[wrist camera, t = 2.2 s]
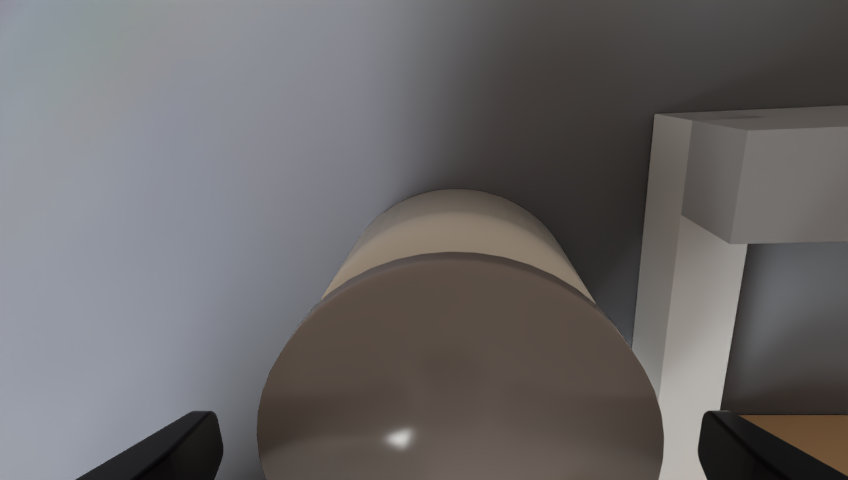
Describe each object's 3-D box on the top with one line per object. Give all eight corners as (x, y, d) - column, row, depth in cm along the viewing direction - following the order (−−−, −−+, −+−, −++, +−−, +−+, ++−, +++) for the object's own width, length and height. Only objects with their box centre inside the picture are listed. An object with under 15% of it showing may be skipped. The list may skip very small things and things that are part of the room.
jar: (349, 402, 15) (285, 596, 10) (325, 189, 13) (224, 274, 7) (571, 402, 15) (644, 607, 9) (583, 180, 13) (687, 264, 7)
